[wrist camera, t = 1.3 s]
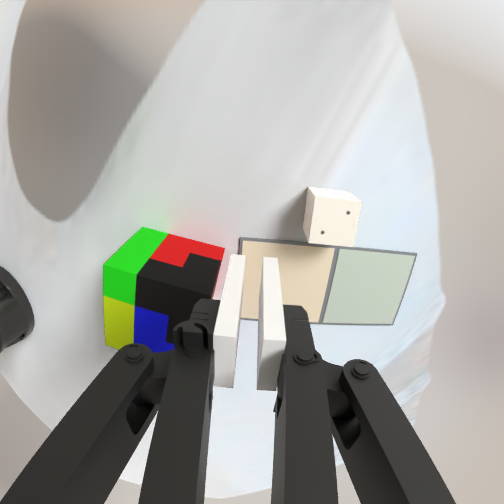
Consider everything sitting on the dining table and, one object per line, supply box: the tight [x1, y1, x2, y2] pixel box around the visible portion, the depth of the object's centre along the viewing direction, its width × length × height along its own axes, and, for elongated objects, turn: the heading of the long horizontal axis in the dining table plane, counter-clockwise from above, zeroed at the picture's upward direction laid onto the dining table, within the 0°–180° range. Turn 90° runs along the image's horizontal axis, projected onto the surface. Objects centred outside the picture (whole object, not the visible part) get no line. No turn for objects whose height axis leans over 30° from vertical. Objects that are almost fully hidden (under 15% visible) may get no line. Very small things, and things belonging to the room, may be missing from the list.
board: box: [239, 237, 417, 325], centre depth 35 cm, size 22×11×1 cm, turn 85°
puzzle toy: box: [103, 227, 225, 353], centre depth 30 cm, size 10×10×10 cm
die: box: [303, 187, 362, 247], centre depth 29 cm, size 5×5×5 cm
